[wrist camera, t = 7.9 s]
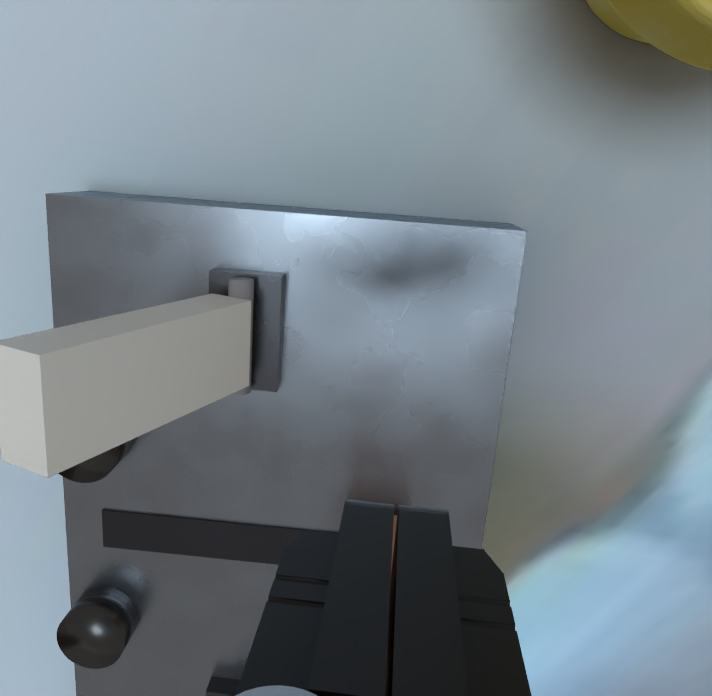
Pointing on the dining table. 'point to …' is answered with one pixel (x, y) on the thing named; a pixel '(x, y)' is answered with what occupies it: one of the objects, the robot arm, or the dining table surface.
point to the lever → (120, 376)
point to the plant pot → (663, 25)
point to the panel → (272, 413)
